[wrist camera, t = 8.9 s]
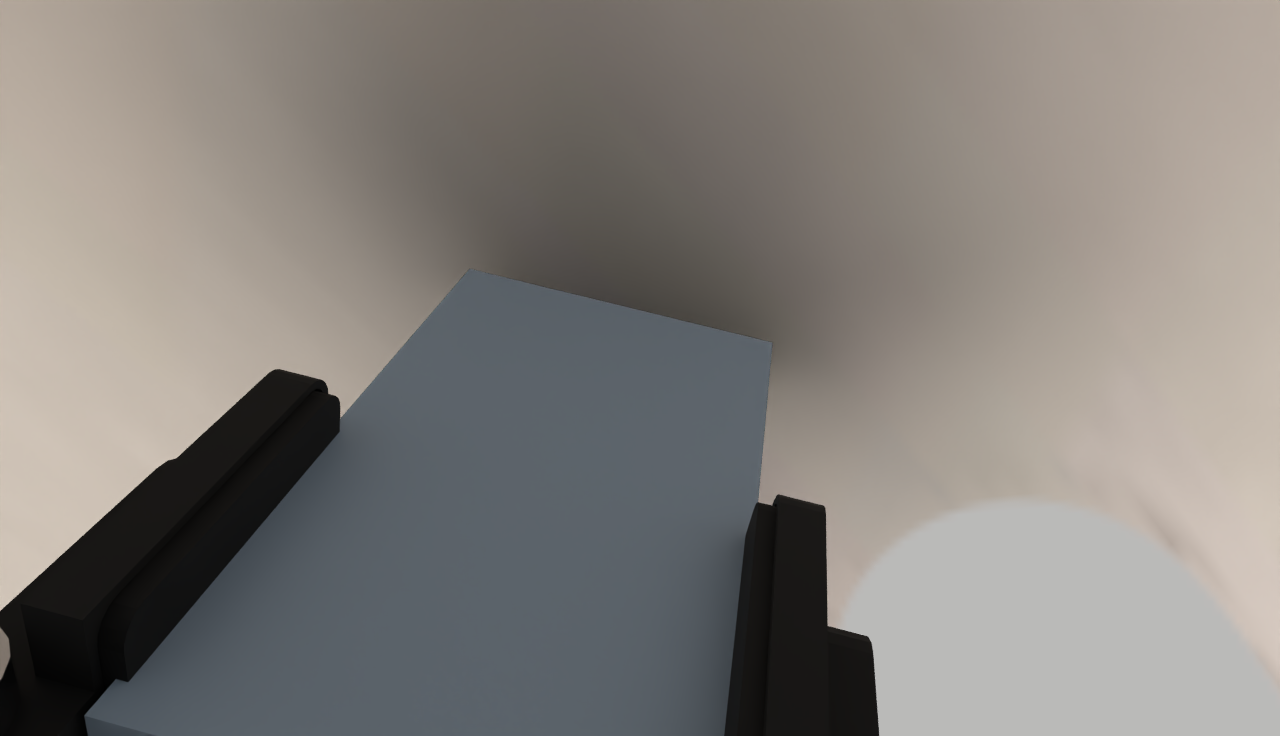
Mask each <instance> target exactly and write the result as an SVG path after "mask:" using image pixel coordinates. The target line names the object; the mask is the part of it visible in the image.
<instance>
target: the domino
mask: <svg viewBox="0 0 1280 736" xmlns="http://www.w3.org/2000/svg"><path fill="white" fill-rule="evenodd" d="M771 354H772V342H768V341H764V340H760V339H756V338H752V337H748V336H744V335H740V334H735V333H731V332H727V331H723V330H719V329H715V328H711V327H707V326H703V325H698V324H694V323H690V322H686V321H682V320H678V319H674V318H670V317H666V316H662V315H657V314H653V313H649V312H645V311H641V310H637V309H633V308H629V307H625V306H620V305H616V304H612V303H608V302H604V301H600V300H596V299H592V298H588V297H584V296H579V295H575V294H571V293H567V292H563V291H559V290H555V289H551V288H547V287H542V286H538V285H534V284H530V283H526V282H522V281H518V280H514V279H510V278H506V277H501V276H497V275H493V274H489V273H485V272H481V271H477V270H473V269H469V270H468V271H467V272H466V274H465V275H464V276H463V277H462V278H461V279H460V281H459V282H458V283H457V284H456V285H455V286H454V288H453V289H452V290H451V291H450V292H449V293H448V294H447V296H446V297H445V298H444V299H443V300H442V301H441V303H440V304H439V305H438V306H437V307H436V308H435V310H434V311H433V312H432V313H431V314H430V315H429V317H428V318H427V319H426V320H425V321H424V322H423V323H422V325H421V326H420V327H419V328H418V329H417V330H416V332H415V333H414V334H413V335H412V336H411V337H410V339H409V340H408V341H407V342H406V343H405V344H404V346H403V347H402V348H401V349H400V350H399V351H398V352H397V354H396V355H395V356H394V357H393V358H392V359H391V361H390V362H389V363H388V364H387V365H386V366H385V368H384V369H383V370H382V371H381V372H380V373H379V375H378V376H377V377H376V378H375V379H374V380H373V381H372V383H371V384H370V385H369V386H368V387H367V388H366V390H365V391H364V392H363V393H362V394H361V395H360V397H359V398H358V399H357V400H356V401H355V402H354V404H353V405H352V406H351V407H350V408H349V409H348V410H347V412H346V413H345V414H344V415H343V416H342V417H341V419H340V432H339V433H338V434H337V436H336V437H335V438H334V439H333V440H332V441H331V443H330V444H329V445H328V446H327V447H326V449H325V450H324V451H323V452H322V453H321V455H320V456H319V457H318V458H317V459H316V460H315V462H314V463H313V464H312V465H311V466H310V468H309V469H308V470H307V471H306V472H305V473H304V475H303V476H302V477H301V478H300V479H299V481H298V482H297V483H296V484H295V485H294V487H293V488H292V489H291V490H290V491H289V492H288V494H287V495H286V496H285V497H284V498H283V500H282V501H281V502H280V503H279V504H278V506H277V507H276V508H275V509H274V510H273V511H272V513H271V514H270V515H269V516H268V517H267V519H266V520H265V521H264V522H263V523H262V524H261V526H260V527H259V528H258V529H257V530H256V532H255V533H254V534H253V535H252V536H251V538H250V539H249V540H248V541H247V542H246V543H245V545H244V546H243V547H242V548H241V549H240V551H239V552H238V553H237V554H236V555H235V556H234V558H233V559H232V560H231V561H230V562H229V564H228V565H227V566H226V567H225V568H224V570H223V571H222V572H221V573H220V574H219V575H218V577H217V578H216V579H215V580H214V581H213V583H212V584H211V585H210V586H209V587H208V589H207V590H206V591H205V592H204V593H203V594H202V596H201V597H200V598H199V599H198V600H197V602H196V603H195V604H194V605H193V606H192V607H191V609H190V610H189V611H188V612H187V613H186V615H185V616H184V617H183V618H182V619H181V621H180V622H179V623H178V624H177V625H176V626H175V628H174V629H173V630H172V631H171V632H170V634H169V635H168V636H167V637H166V638H165V640H164V641H163V642H162V643H161V644H160V645H159V647H158V648H157V649H156V650H155V651H154V653H153V654H152V655H151V656H150V657H149V658H148V660H147V661H146V662H145V663H144V664H143V666H142V667H141V668H140V669H139V670H138V672H137V673H136V674H135V675H134V676H133V677H132V679H131V680H130V681H129V682H125V681H121V680H118V679H115V681H114V682H113V683H112V684H111V685H110V686H109V688H108V689H107V690H106V691H105V692H104V693H103V695H102V696H101V697H100V698H99V699H98V700H97V702H96V703H95V704H94V705H93V706H92V707H91V708H90V710H89V711H88V712H87V713H86V714H85V715H84V717H85V722H86V728H87V733H88V736H724V733H725V723H726V714H727V704H728V695H729V686H730V676H731V667H732V657H733V648H734V639H735V629H736V620H737V610H738V601H739V592H740V582H741V573H742V563H743V554H744V544H745V535H746V532H747V529H748V526H749V523H750V519H751V516H752V513H753V510H754V507H755V505H756V503H757V502H758V497H759V486H760V475H761V464H762V453H763V442H764V431H765V420H766V409H767V398H768V387H769V376H770V365H771Z"/></svg>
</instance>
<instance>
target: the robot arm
mask: <svg viewBox="0 0 1280 736" xmlns="http://www.w3.org/2000/svg"><path fill="white" fill-rule="evenodd" d="M339 432H340V402H339V399H338V397H336V396H334V395H330V394H328V388H327V385H326V383H325V382H324V381H323V380H320V379H316V378H312V377H308V376H304V375H300V374H296V373H292V372H288V371H284V370H280V369H277V370H273V371H271V372H270V373H268V374H267V375H266V376H265V377H264V378H263V379H262V380H261V381H260V382H259V383H258V384H256V385H255V386H254V387H253V388H252V389H251V390H250V391H249V392H248V393H247V394H246V395H245V396H244V397H242V398H241V399H240V400H239V401H238V402H237V403H236V404H235V405H234V406H233V407H232V408H231V409H229V410H228V411H227V412H226V413H225V414H224V415H223V416H222V417H221V418H220V419H219V420H218V421H216V422H215V423H214V424H213V425H212V426H211V427H210V428H209V429H208V430H207V431H206V432H205V433H203V434H202V435H201V436H200V437H199V438H198V439H197V440H196V441H195V442H194V443H193V444H192V445H190V446H189V447H188V448H187V449H186V450H185V451H184V452H183V453H182V454H181V455H180V456H179V457H177V458H176V459H173V460H168V461H167V462H165V463H164V464H162V465H161V466H160V467H158V468H157V469H156V470H154V471H153V472H152V473H151V474H150V475H149V476H148V477H147V478H146V479H145V480H144V481H142V482H141V483H140V484H139V485H138V486H137V487H136V488H135V489H134V490H133V491H131V492H130V493H129V494H128V495H127V496H126V497H125V498H124V499H123V500H122V501H120V502H119V503H118V504H117V505H116V506H115V507H114V508H113V509H112V510H111V511H110V512H108V513H107V514H106V515H105V516H104V517H103V518H102V519H101V520H100V521H99V522H97V523H96V524H95V525H94V526H93V527H92V528H91V529H90V530H89V531H88V532H86V533H85V534H84V535H83V536H82V537H81V538H80V539H79V540H78V541H77V542H76V543H74V544H73V545H72V546H71V547H70V548H69V549H68V550H67V551H66V552H65V553H63V554H62V555H61V556H60V557H59V558H58V559H57V560H56V561H55V562H54V563H52V564H51V565H50V566H49V567H48V568H47V569H46V570H45V571H44V572H43V573H42V574H40V575H39V576H38V577H37V578H36V579H35V580H34V581H33V582H32V583H31V584H29V585H28V586H27V587H26V588H25V589H24V590H23V591H22V592H21V593H20V594H18V595H17V596H16V597H15V598H14V599H13V600H12V601H11V602H10V603H9V604H7V605H6V606H5V607H4V608H3V609H2V610H1V611H0V736H88V733H87V728H86V722H85V717H84V715H85V714H86V713H87V712H88V711H89V710H90V708H91V707H92V706H93V705H94V704H95V703H96V702H97V700H98V699H99V698H100V697H101V696H102V695H103V693H104V692H105V691H106V690H107V689H108V688H109V686H110V685H111V684H112V683H113V682H114V681H115V679H118V680H121V681H125V682H129V681H130V680H131V679H132V677H133V676H134V675H135V674H136V673H137V672H138V670H139V669H140V668H141V667H142V666H143V664H144V663H145V662H146V661H147V660H148V658H149V657H150V656H151V655H152V654H153V653H154V651H155V650H156V649H157V648H158V647H159V645H160V644H161V643H162V642H163V641H164V640H165V638H166V637H167V636H168V635H169V634H170V632H171V631H172V630H173V629H174V628H175V626H176V625H177V624H178V623H179V622H180V621H181V619H182V618H183V617H184V616H185V615H186V613H187V612H188V611H189V610H190V609H191V607H192V606H193V605H194V604H195V603H196V602H197V600H198V599H199V598H200V597H201V596H202V594H203V593H204V592H205V591H206V590H207V589H208V587H209V586H210V585H211V584H212V583H213V581H214V580H215V579H216V578H217V577H218V575H219V574H220V573H221V572H222V571H223V570H224V568H225V567H226V566H227V565H228V564H229V562H230V561H231V560H232V559H233V558H234V556H235V555H236V554H237V553H238V552H239V551H240V549H241V548H242V547H243V546H244V545H245V543H246V542H247V541H248V540H249V539H250V538H251V536H252V535H253V534H254V533H255V532H256V530H257V529H258V528H259V527H260V526H261V524H262V523H263V522H264V521H265V520H266V519H267V517H268V516H269V515H270V514H271V513H272V511H273V510H274V509H275V508H276V507H277V506H278V504H279V503H280V502H281V501H282V500H283V498H284V497H285V496H286V495H287V494H288V492H289V491H290V490H291V489H292V488H293V487H294V485H295V484H296V483H297V482H298V481H299V479H300V478H301V477H302V476H303V475H304V473H305V472H306V471H307V470H308V469H309V468H310V466H311V465H312V464H313V463H314V462H315V460H316V459H317V458H318V457H319V456H320V455H321V453H322V452H323V451H324V450H325V449H326V447H327V446H328V445H329V444H330V443H331V441H332V440H333V439H334V438H335V437H336V436H337V434H338V433H339ZM724 736H879V727H878V713H877V700H876V686H875V672H874V658H873V650H872V644H871V641H870V639H869V638H868V637H867V636H864V635H860V634H856V633H852V632H848V631H845V630H841V629H837V628H833V627H829V626H827V559H826V511H825V507H824V506H822V505H818V504H814V503H810V502H806V501H802V500H798V499H794V498H790V497H786V496H782V495H777V496H776V498H775V500H774V503H773V505H772V506H771V505H767V504H763V503H759V502H757V503H756V505H755V507H754V510H753V513H752V516H751V519H750V523H749V526H748V529H747V532H746V535H745V544H744V554H743V563H742V573H741V582H740V592H739V601H738V610H737V620H736V629H735V639H734V648H733V657H732V667H731V676H730V686H729V695H728V704H727V714H726V723H725V733H724Z"/></svg>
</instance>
